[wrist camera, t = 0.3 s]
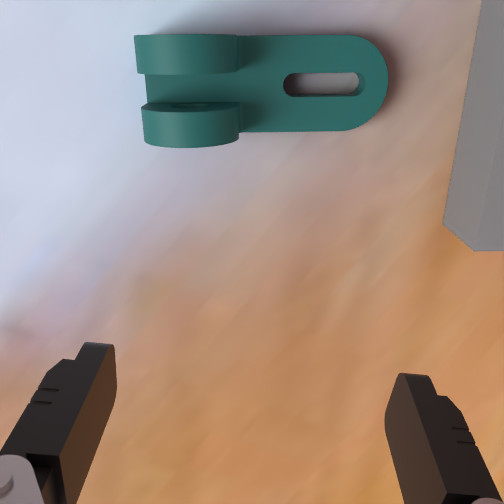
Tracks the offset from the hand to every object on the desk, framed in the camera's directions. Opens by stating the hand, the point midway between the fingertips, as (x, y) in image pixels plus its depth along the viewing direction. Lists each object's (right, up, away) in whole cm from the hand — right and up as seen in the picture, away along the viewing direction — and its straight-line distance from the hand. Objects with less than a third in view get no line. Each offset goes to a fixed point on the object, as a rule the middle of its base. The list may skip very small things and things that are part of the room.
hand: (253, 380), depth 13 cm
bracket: (+1, +17, +23) cm, 29 cm away
